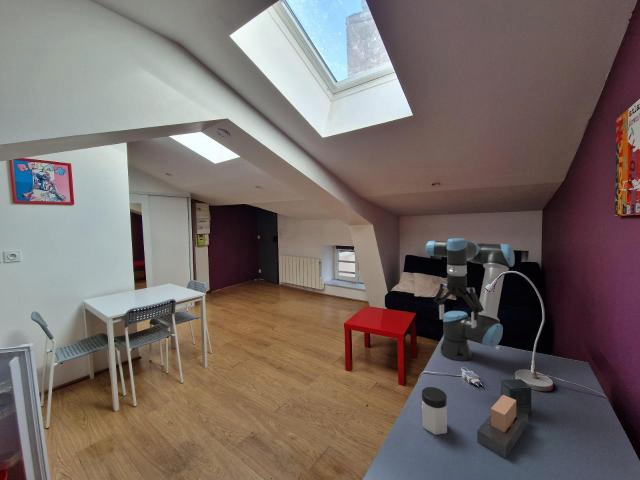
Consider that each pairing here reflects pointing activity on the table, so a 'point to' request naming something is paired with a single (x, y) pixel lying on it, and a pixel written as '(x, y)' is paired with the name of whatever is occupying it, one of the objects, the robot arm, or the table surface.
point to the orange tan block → (503, 413)
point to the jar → (434, 410)
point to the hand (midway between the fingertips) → (457, 322)
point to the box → (518, 393)
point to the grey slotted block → (502, 434)
